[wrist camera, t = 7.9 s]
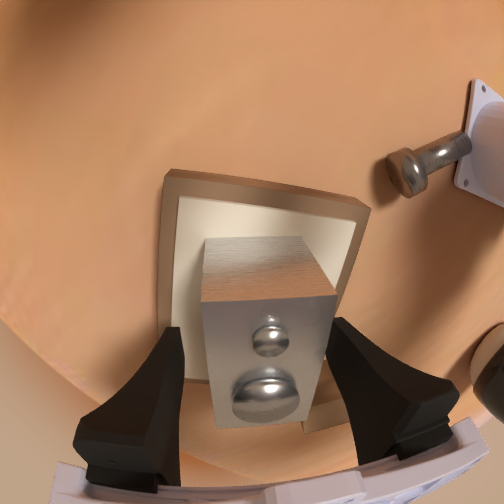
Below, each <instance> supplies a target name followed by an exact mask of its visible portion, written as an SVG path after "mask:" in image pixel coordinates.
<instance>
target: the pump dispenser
mask: <svg viewBox="0 0 504 504" xmlns="http://www.w3.org/2000/svg"><path fill="white" fill-rule="evenodd" d="M470 378H471V382H472V385H473V393H474V394H475V396H476V397H477V399H478V400H479V401H480V402H481V403H482V404H483V405H484V407H485V408H486V409H487V410H488V411H489V412H490V413H491V414H492V415H494V416H495V417H496V418H497V419H498V420H500V421H501V422H502V423H503V424H504V323H503V324H501V325H499V326H497V327H496V328H494V329H493V330H492V331H491V332H489V333H488V334H487V335H486V336H485V338H484V339H483V340H482V341H481V343H480V344H479V346H478V347H477V349H476V351H475V353H474V355H473V358H472V361H471V365H470Z"/></svg>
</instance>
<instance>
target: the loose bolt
mask: <svg viewBox="0 0 504 504" xmlns="http://www.w3.org/2000/svg"><path fill="white" fill-rule="evenodd" d="M471 152H472V143H471V140H470V138H469V136H468V135H467V134H466V133H465V132H463V131H461V130H459V131H457V132H454V133H452V134H450V135H447V136H445V137H443V138H441V139H438V140H436V141H434V142H432V143H430V144H427V145H425V146H423V147H421V148H418V149H416V150H414V151H412V150H411V149H409V148H402V149H400V150H398V151H395V152H393V153H391V154H389V155H388V156H387V158H386V166H387V171H388V174H389V176H390V179H391V181H392V183H393V185H394V186H395V188H396V189H397V190H398V192H399V193H400V194H401V195H402V196H404V197H405V198H412V197H413V196H415V195H417V194H419V193H421V192H423V191H425V190H426V188H427V185H428V178H427V175H429V174H431V173H433V172H435V171H437V170H439V169H441V168H443V167H445V166H447V165H449V164H451V163H452V162H454V161H456V160H458V159H460V158H462V157H464V156H466V155H468V154H470V153H471Z"/></svg>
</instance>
